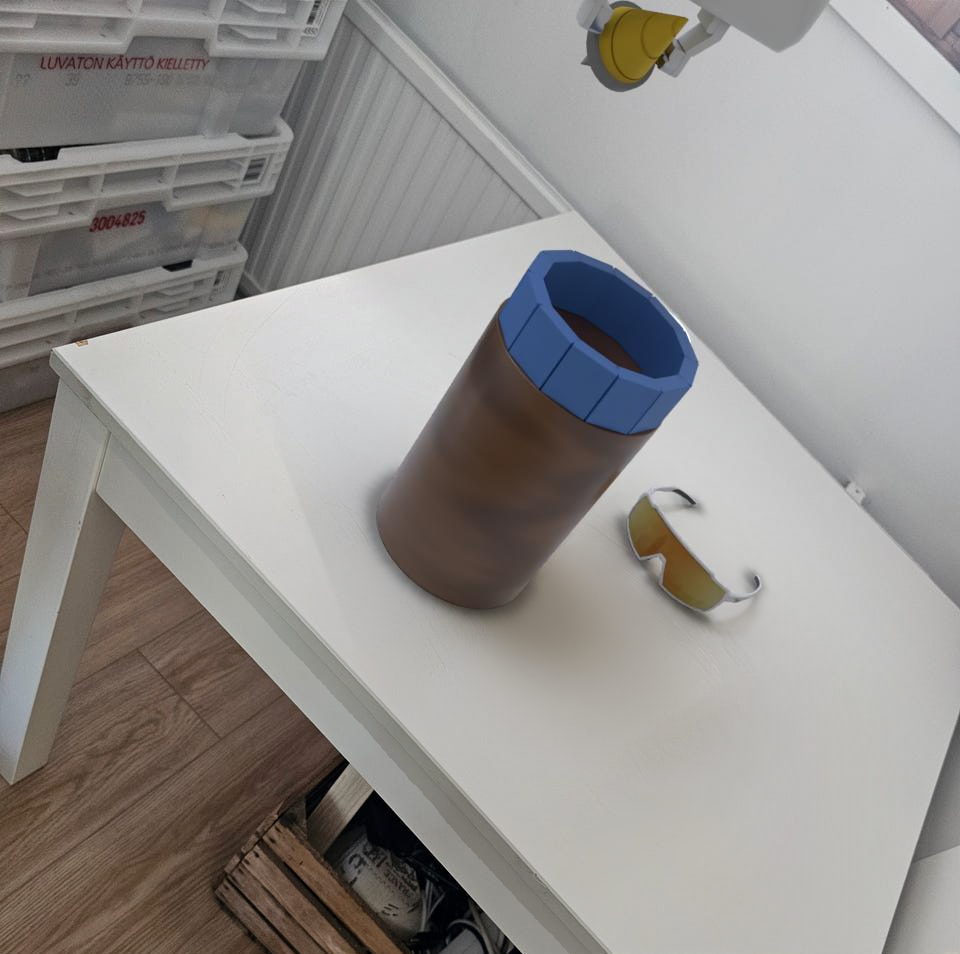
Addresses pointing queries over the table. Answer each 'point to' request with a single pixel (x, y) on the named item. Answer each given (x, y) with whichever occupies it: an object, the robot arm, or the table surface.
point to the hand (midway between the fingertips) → (626, 49)
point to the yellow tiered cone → (630, 45)
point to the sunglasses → (676, 556)
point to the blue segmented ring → (579, 368)
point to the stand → (499, 476)
